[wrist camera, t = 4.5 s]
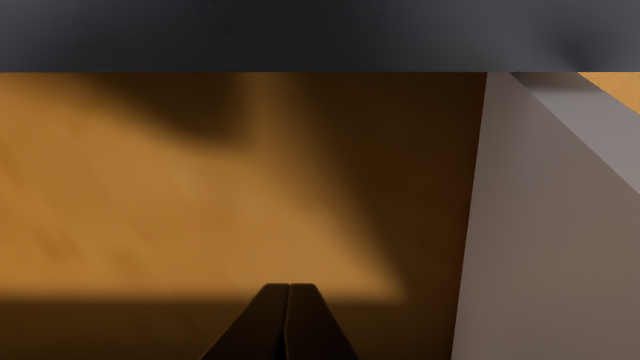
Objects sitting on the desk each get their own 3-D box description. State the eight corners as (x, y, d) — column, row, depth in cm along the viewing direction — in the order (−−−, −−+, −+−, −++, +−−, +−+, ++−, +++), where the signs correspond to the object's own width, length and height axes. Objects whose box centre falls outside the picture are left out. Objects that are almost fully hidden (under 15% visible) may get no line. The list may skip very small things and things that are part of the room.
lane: (708, -45, 9) (835, -27, 7) (584, 409, 13) (635, 510, 11) (-313, -41, 9) (-518, -23, 7) (-108, 404, 14) (-194, 503, 11)
